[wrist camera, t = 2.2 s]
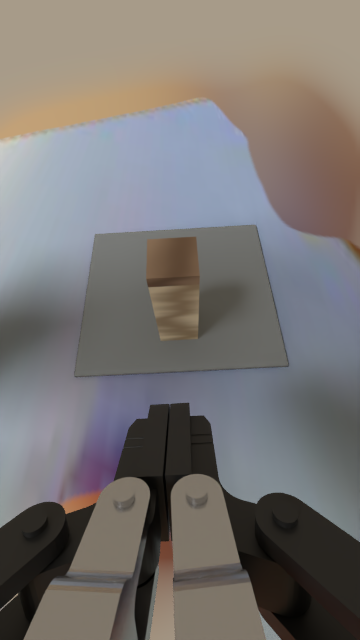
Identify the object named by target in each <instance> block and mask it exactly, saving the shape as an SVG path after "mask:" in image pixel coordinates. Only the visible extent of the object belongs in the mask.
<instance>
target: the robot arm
mask: <svg viewBox="0 0 360 640" xmlns="http://www.w3.org/2000/svg"><path fill="white" fill-rule="evenodd" d="M170 531H171V541H173V562H174V578H173V595H174V596H173V597H174V624H175V640H266V637H265V633H264V630H263V626H262V622H261V618H260V615H259V612H260V614H261V615H262V617H263V618H264V619H265V621H266V622H267V623H268V624H269V625H270V627H271V628H272V629H273V630H274V631H275V632H276V634H277V635H278V636H279V637H280V638H281V639H282V640H360V542H359V541H357V540H356V539H354V538H353V537H352V536H350V535H349V534H347V533H346V532H345V531H343V530H342V529H340V528H339V527H337V526H336V525H335V524H333V523H332V522H330V521H329V520H328V519H326V518H325V517H323V516H322V515H320V514H319V513H318V512H316V511H315V510H313V509H312V508H311V507H309V506H308V505H306V504H305V503H303V502H302V501H301V500H299V499H297V498H296V497H293V496H291V495H288V494H284V493H271V494H267V495H265V496H263V497H262V498H261V499H260V500H259V501H258V503H257V504H255V503H251V502H247V501H243V500H240V499H238V498H235V497H233V496H232V495H230V494H229V493H228V492H227V491H226V490H225V489H224V488H223V487H222V485H221V483H220V481H219V477H218V471H217V464H216V458H215V451H214V444H213V438H212V431H211V424H210V423H209V421H208V420H207V419H206V418H205V417H204V416H190V409H189V403H177V404H170V405H169V404H159V405H150V409H149V414H148V419H137V420H136V421H135V422H134V423H133V424H132V425H131V426H130V427H129V430H128V433H127V437H126V440H125V444H124V449H123V451H122V454H121V457H120V461H119V464H118V468H117V471H116V475H115V478H114V482H112V483H110V484H109V485H108V486H107V487H106V488H105V489H104V490H103V491H102V493H101V494H100V496H99V498H98V501H97V503H95V504H93V505H91V506H89V507H86V508H83V509H80V510H77V511H74V512H71V513H68V514H65V510H64V508H63V507H62V506H61V505H60V504H58V503H55V502H43V503H39V504H36V505H34V506H32V507H30V508H28V509H26V510H25V511H23V512H22V513H20V514H19V515H18V516H16V517H15V518H14V519H12V520H11V521H9V522H8V523H7V524H5V525H4V526H2V527H1V528H0V609H1V608H2V607H3V606H4V605H5V604H6V603H7V602H9V601H10V600H11V599H12V598H13V597H14V596H15V595H16V594H17V593H18V595H17V596H16V597H15V598H14V599H13V600H12V601H11V602H10V603H8V604H7V605H6V606H5V607H4V608H3V609H2V610H1V611H0V640H149V639H150V631H151V624H152V617H153V610H154V603H155V596H156V588H157V581H158V574H159V568H158V562H159V556H160V542H161V541H169V532H170ZM258 610H259V611H258Z"/></svg>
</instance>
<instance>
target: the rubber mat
mask: <svg viewBox="0 0 360 640" xmlns="http://www.w3.org/2000/svg"><path fill="white" fill-rule="evenodd" d="M180 237H196V239H197V250H198V262H199V273H200V285H199V320H198V339H188V340H169V341H161V340H160V335H159V331H158V327H157V323H156V318H155V314H154V310H153V306H152V301H151V297H150V293H149V289H148V285H147V280H146V265H147V239H163V238H180ZM269 367H288V361H287V357H286V352H285V348H284V344H283V339H282V335H281V331H280V327H279V322H278V318H277V314H276V310H275V305H274V301H273V297H272V292H271V288H270V284H269V280H268V275H267V271H266V267H265V263H264V258H263V254H262V250H261V246H260V241H259V237H258V233H257V228H256V225H243V226H226V227H209V228H192V229H175V230H158V231H142V232H125V233H108V234H95V238H94V245H93V251H92V258H91V265H90V272H89V278H88V285H87V292H86V299H85V306H84V312H83V319H82V326H81V333H80V339H79V346H78V353H77V360H76V367H75V373H74V376H75V377H89V376H109V375H129V374H149V373H169V372H189V371H209V370H229V369H249V368H269Z"/></svg>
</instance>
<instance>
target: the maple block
mask: <svg viewBox="0 0 360 640" xmlns="http://www.w3.org/2000/svg"><path fill="white" fill-rule="evenodd" d="M146 280H147V285H148V289H149V293H150V297H151V301H152V306H153V310H154V314H155V318H156V323H157V327H158V331H159V335H160V340H161V341H169V340H188V339H198V320H199V285H200V273H199V262H198V250H197V239H196V237H180V238H163V239H147V265H146Z"/></svg>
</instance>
